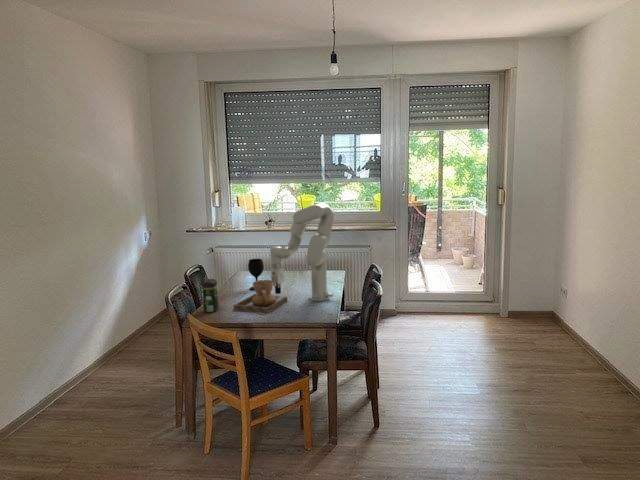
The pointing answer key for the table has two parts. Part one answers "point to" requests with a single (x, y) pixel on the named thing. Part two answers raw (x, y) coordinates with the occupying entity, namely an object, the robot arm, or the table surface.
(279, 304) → the walnut bay
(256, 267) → the wine glass
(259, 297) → the ceramic jug
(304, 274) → the table surface
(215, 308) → the coffee jar
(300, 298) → the table surface
